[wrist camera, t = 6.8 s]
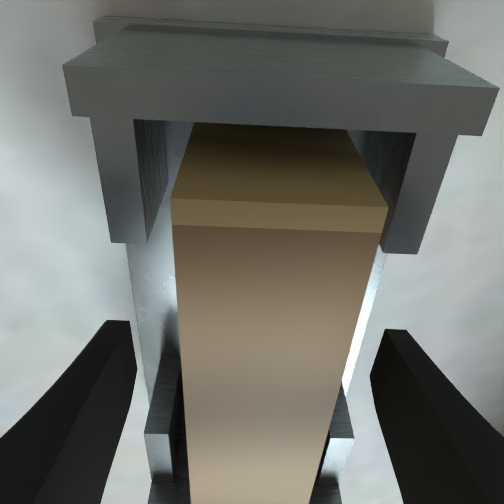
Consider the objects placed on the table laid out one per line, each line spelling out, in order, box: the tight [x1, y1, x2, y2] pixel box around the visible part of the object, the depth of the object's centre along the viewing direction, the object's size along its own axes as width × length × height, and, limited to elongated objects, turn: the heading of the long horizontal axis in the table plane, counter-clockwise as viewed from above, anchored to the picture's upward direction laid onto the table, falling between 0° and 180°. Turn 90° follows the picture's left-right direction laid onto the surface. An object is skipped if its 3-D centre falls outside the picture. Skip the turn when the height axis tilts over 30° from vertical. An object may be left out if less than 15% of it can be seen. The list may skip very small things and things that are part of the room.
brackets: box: [63, 16, 500, 504], centre depth 13 cm, size 16×8×5 cm, turn 177°
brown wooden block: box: [170, 122, 389, 504], centre depth 12 cm, size 12×4×5 cm, turn 177°
